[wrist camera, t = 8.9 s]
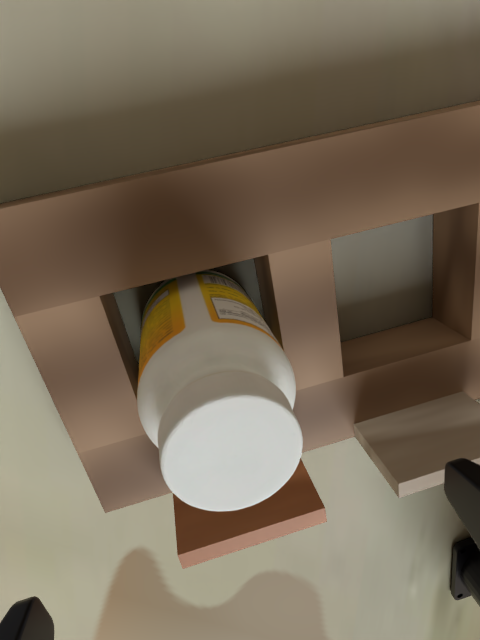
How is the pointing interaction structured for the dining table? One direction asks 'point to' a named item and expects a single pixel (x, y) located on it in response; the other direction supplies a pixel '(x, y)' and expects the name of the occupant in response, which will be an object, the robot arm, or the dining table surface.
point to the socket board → (278, 305)
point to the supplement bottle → (216, 394)
